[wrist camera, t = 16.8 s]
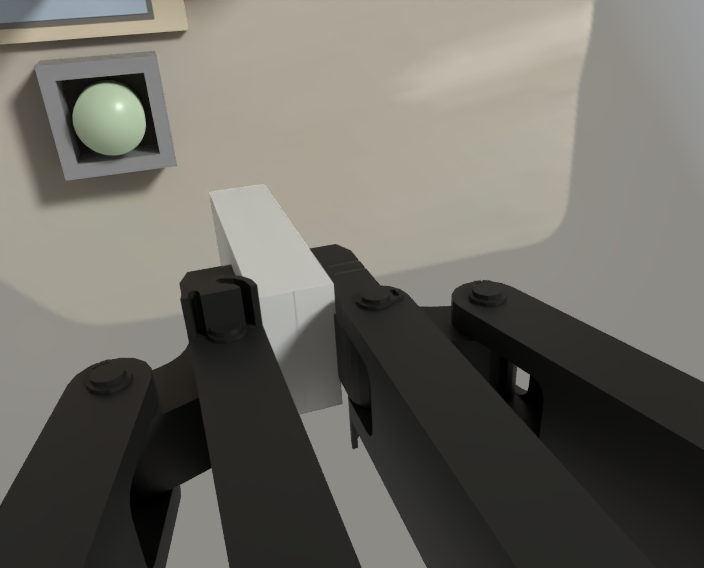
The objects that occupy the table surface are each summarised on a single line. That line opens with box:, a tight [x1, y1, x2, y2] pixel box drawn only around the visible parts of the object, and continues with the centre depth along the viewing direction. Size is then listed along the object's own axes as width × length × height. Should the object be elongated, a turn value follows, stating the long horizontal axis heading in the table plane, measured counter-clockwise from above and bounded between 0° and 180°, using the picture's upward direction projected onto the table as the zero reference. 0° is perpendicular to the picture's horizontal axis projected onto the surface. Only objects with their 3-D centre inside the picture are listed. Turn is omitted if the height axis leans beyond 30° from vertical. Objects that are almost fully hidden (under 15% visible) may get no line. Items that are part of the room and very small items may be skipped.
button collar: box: [34, 51, 177, 181], centre depth 34 cm, size 6×6×2 cm
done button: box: [73, 80, 146, 155], centre depth 33 cm, size 4×4×3 cm
